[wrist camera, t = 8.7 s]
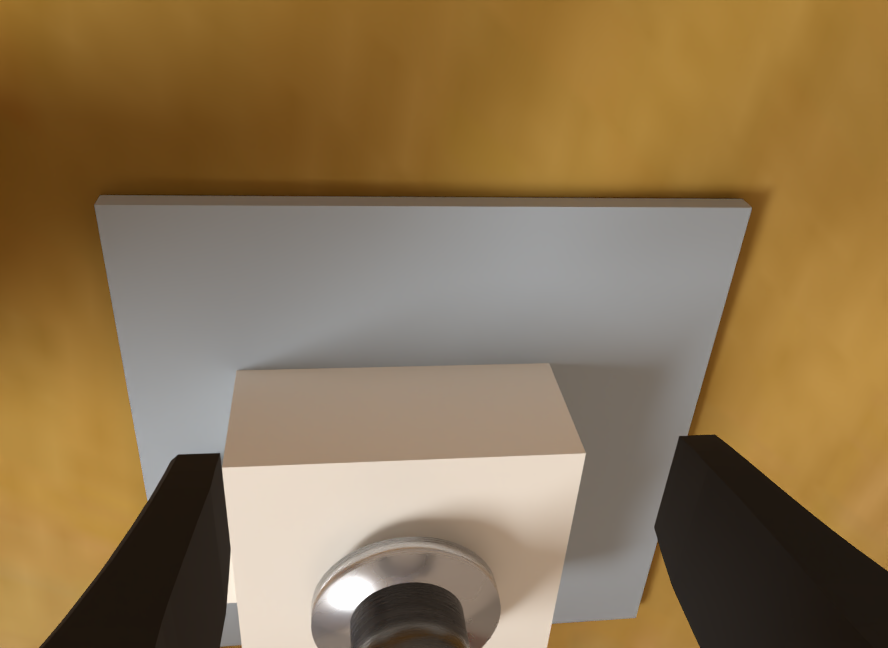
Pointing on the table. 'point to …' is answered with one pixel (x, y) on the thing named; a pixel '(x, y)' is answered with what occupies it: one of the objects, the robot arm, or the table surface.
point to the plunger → (406, 597)
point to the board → (436, 326)
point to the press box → (397, 484)
